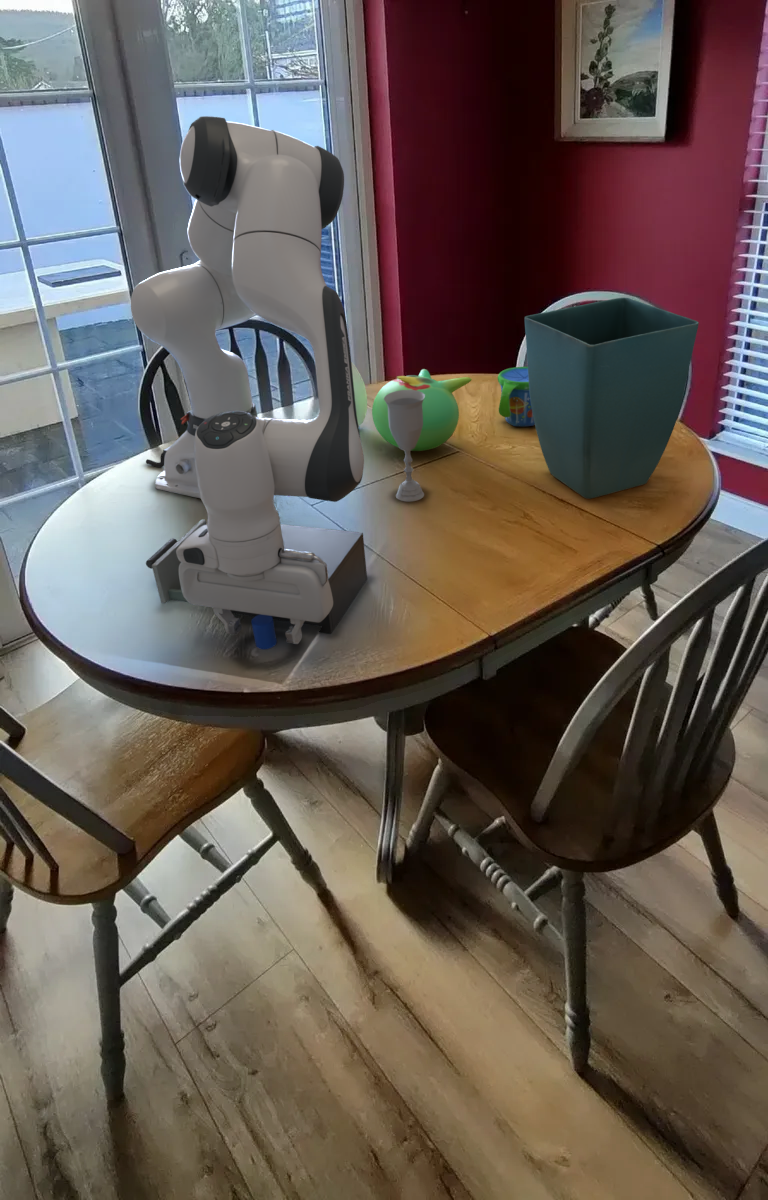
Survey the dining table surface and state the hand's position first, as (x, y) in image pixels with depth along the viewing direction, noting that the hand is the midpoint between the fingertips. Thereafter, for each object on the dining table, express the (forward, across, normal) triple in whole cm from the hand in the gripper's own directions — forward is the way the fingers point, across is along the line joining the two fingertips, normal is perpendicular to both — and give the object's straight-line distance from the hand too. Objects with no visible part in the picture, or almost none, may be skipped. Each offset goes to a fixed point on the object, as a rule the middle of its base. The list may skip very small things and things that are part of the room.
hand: (264, 636), depth 110 cm
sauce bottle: (+2, +17, -76) cm, 78 cm away
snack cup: (+2, -18, -86) cm, 88 cm away
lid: (+2, 0, 0) cm, 2 cm away
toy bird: (+2, 0, -70) cm, 71 cm away
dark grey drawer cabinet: (+2, +1, -12) cm, 13 cm away
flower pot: (+2, -36, -60) cm, 70 cm away
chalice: (+2, -5, -48) cm, 49 cm away
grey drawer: (+1, +13, -13) cm, 18 cm away
